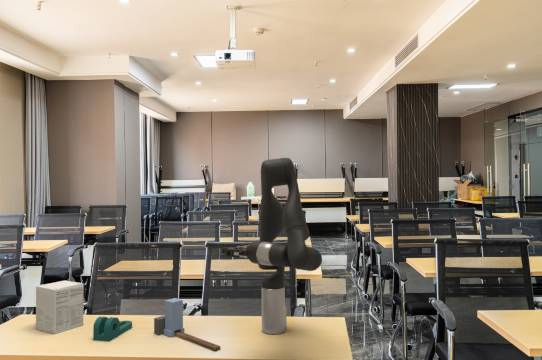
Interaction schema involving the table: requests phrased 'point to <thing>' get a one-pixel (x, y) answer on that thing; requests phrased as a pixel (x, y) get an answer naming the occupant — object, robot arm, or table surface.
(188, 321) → the table surface
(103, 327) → the bracket
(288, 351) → the table surface
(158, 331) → the stop block
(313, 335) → the table surface
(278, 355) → the table surface
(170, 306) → the block
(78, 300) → the supplement box
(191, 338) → the rail
